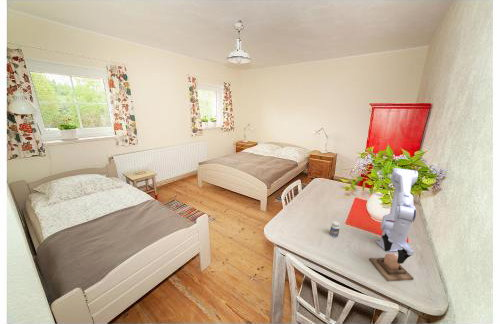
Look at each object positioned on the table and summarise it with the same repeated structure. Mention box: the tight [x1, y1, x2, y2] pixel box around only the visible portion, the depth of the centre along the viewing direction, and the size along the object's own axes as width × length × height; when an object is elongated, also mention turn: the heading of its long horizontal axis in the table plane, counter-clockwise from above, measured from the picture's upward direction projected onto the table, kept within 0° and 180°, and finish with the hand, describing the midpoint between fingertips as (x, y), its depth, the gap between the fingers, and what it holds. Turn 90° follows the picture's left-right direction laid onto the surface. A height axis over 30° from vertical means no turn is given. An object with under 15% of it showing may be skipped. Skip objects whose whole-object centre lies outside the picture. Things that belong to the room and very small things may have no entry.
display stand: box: [368, 257, 414, 282], centre depth 89 cm, size 12×12×3 cm
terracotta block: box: [384, 253, 399, 270], centre depth 89 cm, size 4×4×6 cm
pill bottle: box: [329, 220, 341, 238], centre depth 113 cm, size 5×5×8 cm
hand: (393, 256), depth 88 cm, fingers open, 7 cm apart
